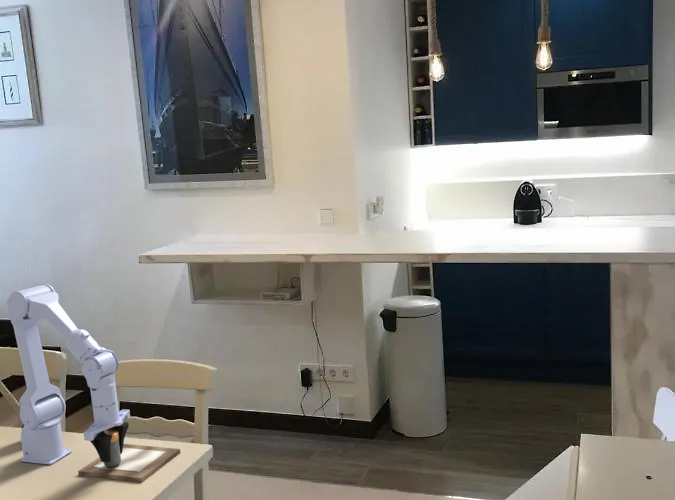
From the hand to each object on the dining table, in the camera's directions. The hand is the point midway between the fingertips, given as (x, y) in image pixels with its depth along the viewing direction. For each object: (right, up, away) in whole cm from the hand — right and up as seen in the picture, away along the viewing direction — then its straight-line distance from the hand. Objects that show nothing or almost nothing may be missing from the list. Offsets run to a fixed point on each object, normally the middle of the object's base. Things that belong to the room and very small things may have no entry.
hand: (111, 457), depth 172 cm
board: (+3, -3, +3) cm, 5 cm away
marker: (0, -2, 0) cm, 2 cm away
